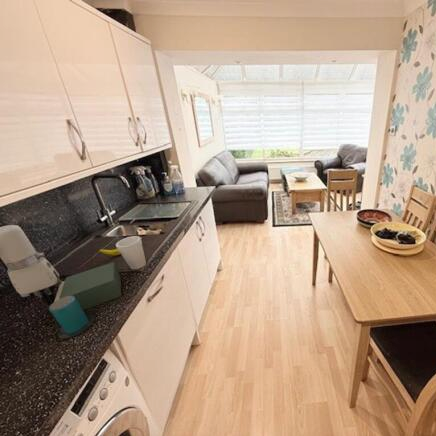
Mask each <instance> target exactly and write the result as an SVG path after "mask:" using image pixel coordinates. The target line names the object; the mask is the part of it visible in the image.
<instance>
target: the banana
mask: <svg viewBox="0 0 436 436" xmlns="http://www.w3.org/2000/svg"><path fill="white" fill-rule="evenodd" d="M140 238H141V240H142V239H143V237H141V236H140ZM97 251H99V252H100V253H102V254H105V255H107V256H119V255H121V253H120V252H119V251H118V249H117V248H115V249H97Z"/></svg>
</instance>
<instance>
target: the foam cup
mask: <svg viewBox="0 0 436 436" xmlns="http://www.w3.org/2000/svg"><path fill="white" fill-rule="evenodd" d="M115 247H116V249H118V251H119V252H120V253H121V254H120V255H121V256H122V258H123V259H124V261H125V262H126V264H127V265H128V266H129V268H130V270H139V269H141V268H143V267H144V266H146V265H147V261H146V257H145V252H144V247H143V241H142V239H141V236H138V235H132V236H127V237H125V238H122V239H120V240H118V241H117V242H116V243H115Z"/></svg>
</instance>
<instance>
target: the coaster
mask: <svg viewBox="0 0 436 436" xmlns="http://www.w3.org/2000/svg"><path fill="white" fill-rule="evenodd" d="M85 315H86V316H87V318H88V322H87V324H86V325H85V326H84V327H82V328H81V329H79V330H77V331H75V332H72V333H65V332H64V330H63V329H62V327H61V326H60V328H59V329H58V331H57V333H56V334H57V335H56V336H57V337H58V338H59V339H61V340H67V339H72V338H74V337H77V336H78V335H81V334H82V333H84V332H85V331H87V330H88V329H90V327H91V326H92V325H93V324H94V323H95V321H96V316H95V314H93V313H90V312H89V313H88V312H87V313H85Z"/></svg>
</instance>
